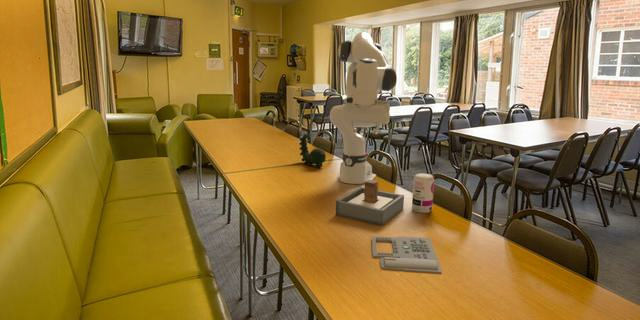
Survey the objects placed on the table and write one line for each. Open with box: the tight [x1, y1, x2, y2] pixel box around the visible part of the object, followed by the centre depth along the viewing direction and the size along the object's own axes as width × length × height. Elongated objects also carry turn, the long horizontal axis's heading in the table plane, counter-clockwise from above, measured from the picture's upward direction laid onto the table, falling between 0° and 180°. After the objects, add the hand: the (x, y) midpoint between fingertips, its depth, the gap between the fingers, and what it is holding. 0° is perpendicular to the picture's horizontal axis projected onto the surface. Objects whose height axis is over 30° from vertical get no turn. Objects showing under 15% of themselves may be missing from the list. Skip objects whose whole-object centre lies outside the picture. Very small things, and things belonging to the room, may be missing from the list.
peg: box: [364, 179, 379, 204], centre depth 165 cm, size 4×4×12 cm
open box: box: [335, 186, 405, 227], centre depth 166 cm, size 22×20×6 cm
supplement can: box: [411, 172, 435, 214], centre depth 167 cm, size 8×8×15 cm
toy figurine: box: [298, 133, 327, 169], centre depth 239 cm, size 9×19×25 cm
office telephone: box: [371, 235, 443, 274], centre depth 130 cm, size 23×3×20 cm
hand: (365, 133), depth 168 cm, fingers open, 8 cm apart
